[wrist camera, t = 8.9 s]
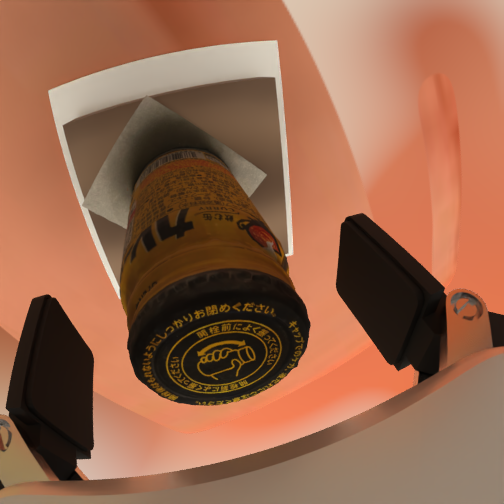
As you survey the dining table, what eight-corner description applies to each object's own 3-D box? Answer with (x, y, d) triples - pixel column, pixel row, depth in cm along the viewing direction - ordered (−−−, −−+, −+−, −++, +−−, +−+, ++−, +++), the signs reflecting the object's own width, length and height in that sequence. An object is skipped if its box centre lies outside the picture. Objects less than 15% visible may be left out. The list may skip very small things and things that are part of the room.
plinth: (75, 118, 16) (62, 125, 13) (259, 76, 18) (275, 77, 15) (125, 270, 22) (123, 295, 20) (274, 233, 24) (288, 253, 22)
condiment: (198, 262, 20) (245, 430, 11) (82, 204, 16) (18, 375, 6) (266, 173, 18) (388, 302, 9) (146, 94, 14) (112, 128, 4)
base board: (51, 89, 15) (48, 90, 14) (272, 41, 17) (277, 40, 17) (119, 293, 24) (119, 299, 24) (289, 249, 27) (293, 254, 26)
